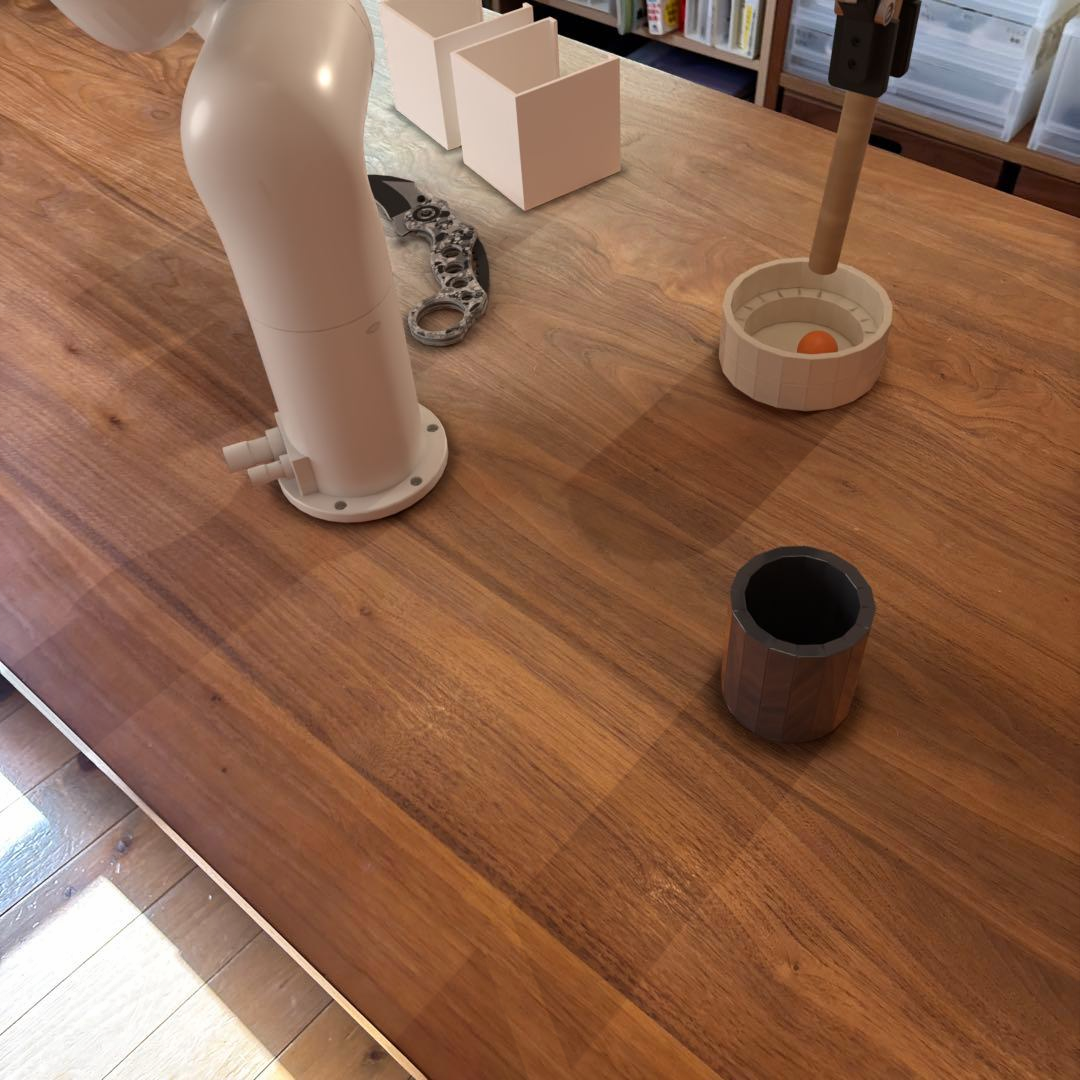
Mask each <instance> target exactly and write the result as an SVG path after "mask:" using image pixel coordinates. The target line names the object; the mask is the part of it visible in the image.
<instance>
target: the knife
mask: <svg viewBox="0 0 1080 1080" xmlns="http://www.w3.org/2000/svg"><path fill="white" fill-rule="evenodd" d="M367 176H368V180H369V184H370V188H371V191H372V194H373V197H374V200H375V203H376V204H378V206H380V207H381V208H382V210H383V211H384V213H385V215H386V216H387V218H388V220H391V221H392V225H393V229H394V232H395V233H396V235H397V236H398V237H399V238H401V239H403V238H405V237H406V236H408V235H409V236H410V237H415V236H416V237H418V236H420V237H424V238H426V240H427V242H428V244H429V246H430V251H429V252H430V255H429V258H430V259H429V262H430V266H431V271H432V274H433V277H434V278H435V280H436V281H437V282H438V284H439V285H440V286H441V288H440V291H439V292H437V293H436V294H434V295H432V296H429V297H426V298H424V299H422V300H420V301H419V302H418V303H416V304H415V305H414V306H413V307H412V308H411V309H410V311H409V312H408V315H407V322H408V327H409V332H410V333H411V335H412V337H413V338H414V339H415V340H417V341H418V342H420V343H422V344H424V345H427V346H435V347H438V346H448V345H453V344H456V343H458V342H461V341H462V340H463V339H464V337H465V335H466V333H467V332H468V330H469V328H470V327H471V326H472V325H473V324H474V323H475V322H476V321H477V320H478V319H480V318H481V317H483V316H484V314H485V311H486V309H487V306H488V304H489V299H488V296H489V290H490V276H491V275H490V272H491V271H490V264H489V259H488V255H487V251H486V249H485V248H484V245H483V243H482V241H481V240H480V237H479V232H478V230H477V228H476V227H475V226H473V225H471V224H468V223H467V222H465V221H462V220H461V219H459V218H458V217H456V216H455V214H454V213H452V210H451V209H450V207H449V203H448V201H447V200H445V199H442V198H439V197H437V196H432V197H430V198H429V197H428V196H426V195H425V194H423V192H422V191H420V189H419V188H418V187H417V185H416V182H415V181H413V180H410V179H406V178H401V177H397V176H393V175H385V174H377V173H376V174H374V173H373V174H371V173H370V174H368V173H367ZM451 256H452V257H451ZM473 261H474V265H475V267H476V269H474V270H475V274H474V271H473ZM475 275H476V276H475ZM441 309H454V310H456V311H459V312H461V313H462V314H463V318H462V319H461V320H460V321H459V322H458V323H457V324H456V325H454V326H452V327H449V328H447V329H443V330H435V331H432V330H426V329H423V328H421V327H420V326H419V322H420V320H421V319H422V318H423V317H424V316H426V315H427V314H429V313H431V312H434V311H436V310H441Z"/></svg>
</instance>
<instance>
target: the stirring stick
mask: <svg viewBox="0 0 1080 1080" xmlns="http://www.w3.org/2000/svg"><path fill="white" fill-rule="evenodd" d="M902 3H903V0H896V4H895V10H894V14H893V17H892V18H894V19H899V15H900V11H901V7H902ZM879 100H880V97H879V98H873V97H870V96H866V95H862V94H859V93H855V92H851V91H848V90H845V96H844V100H843V105H842V109H841V112H840V113H841V114H840V119H839V122H838V127H837V132H836V137H835V141H834V144H833V145H834V146H833V150H832V155H831V159H830V163H829V168H828V173H827V176H826V182H825V185H824V187H825V188H824V190H823V196H822V200H821V203H820V209H819V213H818V217H817V222H816V227H815V231H814V236H813V240H812V245H811V248H810V249H811V250H810V254H809V257H808V258H809V262H808V267H809V269H810V270H811V271H812V272H814V273H816V274H819V275H830V274H832V273H834V272H835V271H836V270H837V266H838V263H840V257H841V254H842V249H843V246H844V241H845V237H846V233H847V229H848V225H849V221H850V218H851V215H852V209H853V204H854V201H855V197H856V194H857V190H858V184H859V181H860V177H861V172H862V168H863V164H864V161H865V157H866V153H867V148H868V144H869V141H870V136H871V133H872V129H873V128H872V127H873V124H874V120H875V116H876V112H877V108H878V104H879Z"/></svg>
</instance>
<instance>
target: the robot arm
mask: <svg viewBox="0 0 1080 1080" xmlns="http://www.w3.org/2000/svg"><path fill="white" fill-rule="evenodd" d="M49 1H50V2H51V3H52V4H53V5H54V6H55V7H56V8H57V9H58V10H59V11H60V12H61V13H62V14H63V15H64V16H65V17H66V18H67V19H68V20H69V21H71V22H72V23H73V25H75V26H76V27H78V28H79V29H81V30H82V31H83V32H84V33H85V34H87V35H88V36H90V37H92V38H93V39H94V40H96V41H97V42H99V43H101V44H103V45H105V46H108V47H110V48H112V49H115V50H118V51H120V52H125V53H135V54H147V53H153V52H154V53H155V52H157V51H160V50H164V49H165V48H167V47H169V46H171V45H173V44H174V43H175V42H177V41H178V40H180V39H181V38H183V36H184V35H185V34H186V33H187V32H189V30H190V29H191V28H192V29H193V30H194V32H195V33H197V35H198V36H199V37H200V38H201V39H202V40H203V41H204V42H203V44H202V46H201V49H200V51H199V54H198V56H197V57H196V61H195V63H194V65H193V68H192V71H191V73H190V76H189V78H188V81H187V84H186V89H185V92H184V96H183V100H182V106H181V112H180V122H179V123H180V126H179V127H180V129H179V133H180V144H181V150H182V152H181V153H182V156H183V161H184V164H185V168H186V170H187V174H188V176H189V178H190V180H191V182H192V184H193V187H194V190H195V191H196V193H197V195H198V197H199V199H200V201H201V203H202V204H203V207H204V208H205V210H206V212H207V214H208V216H209V218H210V220H211V221H212V224H213V227H214V228H215V230H216V232H217V234H218V236H219V239H220V241H221V243H222V246H223V248H224V251H225V254H226V257H227V259H228V262H229V264H230V267H231V270H232V273H233V276H234V279H235V282H236V285H237V289H238V291H239V294H240V297H241V300H242V304H243V306H244V309H245V311H246V314H247V318H248V320H249V323H250V326H251V331H252V333H253V336H254V339H255V342H256V345H257V349H258V351H259V355H260V357H261V361H262V364H263V367H264V370H265V373H266V376H267V379H268V383H269V385H270V388H271V393H272V395H273V398H274V401H275V404H276V408H277V410H278V411H276V412H274V413H273V415H274V418H275V421H276V424H277V426H275V427H272V428H269V429H266V430H264V433H265V436H261V437H257V438H255V439H252V440H248V441H247V440H243V441H240V442H237V443H233V444H230V445H226V446H223V447H221V449H222V452H223V456H224V459H225V463H226V465H227V467H228V470H229V473H230V474H233V473H237V472H240V471H244V470H247V474H248V477H249V480H250V483H251V485H252V488H253V489H254V488H256V487H260V486H263V485H266V484H270V483H271V482H273V481H278V484H279V486H280V489H281V491H282V493H283V495H284V496H285V497H286V498H287V500H288V501H289V502H290V503H291V504H292V505H293V506H294V507H296V508H297V510H299V511H301V512H303V513H304V514H307V515H308V516H310V517H312V518H318V519H320V520H324V521H328V522H336V523H364V522H368V521H375V520H379V519H383V518H386V517H389V516H392V515H396V514H397V513H399V512H402V511H403V510H405V509H408V508H410V507H411V506H413V505H414V504H416V503H417V502H419V501H420V500H421V499H423V498H424V497H425V496H426V495H427V494H428V493H430V491H432V489H434V488H435V486H436V485H437V484H438V482H439V480H441V478H442V476H443V474H444V472H445V469H446V466H447V464H448V458H449V447H448V439H447V435H446V431H445V428H444V426H443V424H442V422H441V421H440V419H439V418H438V417H437V416H436V415H435V414H434V412H432V411H431V410H430V409H429V408H427V407H425V406H424V405H423V404H421V403H419V400H418V394H417V389H416V385H415V384H416V383H415V379H414V375H413V369H412V364H411V359H410V355H409V349H408V344H407V338H406V334H405V333H406V332H405V328H404V327H405V326H404V322H403V317H402V312H401V307H400V301H399V297H398V291H397V287H396V282H395V277H394V272H393V270H392V263H391V259H390V258H391V257H390V253H389V249H388V244H387V238H386V234H385V230H384V227H383V223H382V219H381V215H380V212H379V208H378V206H377V203H376V202H375V200H374V197H373V194H372V191H371V188H370V184H369V180H368V176H367V174H368V171H367V165H366V158H365V146H364V144H365V143H364V135H365V134H364V133H365V124H366V120H367V113H368V109H369V98H370V93H371V89H372V83H373V76H374V70H375V61H376V57H375V56H376V46H375V38H374V37H375V36H374V31H373V27H372V24H371V21H370V18H369V15H368V13H367V12H366V9H365V7H364V5H363V3H362V1H361V0H49ZM922 3H923V2H922V0H903V3H902V7H901V11H900V15H899V19H894V18H892V17H893V14H894V10H895V4H896V0H834V7H833V12H834V14H835V16H836V18H835V25H834V31H833V38H832V47H831V52H830V53H831V54H830V61H829V68H828V75H827V82H828V84H829V85H830V86H831V87H832V88H837V89H840V90H845V91H847V90H848V91H851V92H855V93H859V94H862V95H866V96H870V97H873V98H879V99H880V98H881V97H882V96H883V95H884V94H885V93H886V92H887V90H888V87H889V82H890V77H892V78H895V79H901V78H902V77H903V76H905V75H906V74H907V72H909V69H910V64H911V60H912V59H911V58H912V55H913V48H914V44H915V38H916V33H917V28H918V24H919V23H918V22H919V17H920V12H921V8H922ZM271 460H274V461H271ZM269 461H271V462H269ZM265 462H269V463H265Z"/></svg>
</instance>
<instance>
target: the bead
mask: <svg viewBox="0 0 1080 1080" xmlns="http://www.w3.org/2000/svg"><path fill="white" fill-rule="evenodd" d="M833 352H838V346H837V343H836V341H835V339H834V338H833V337H832V336H831V335H830V334H829V333H827V332H824V331H812V332H810V333H808V334H806V335H805V336H804V337H803V338H802V339H801V340H800V342H799V344H798V347H797V353H803V354H822V353H833Z"/></svg>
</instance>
